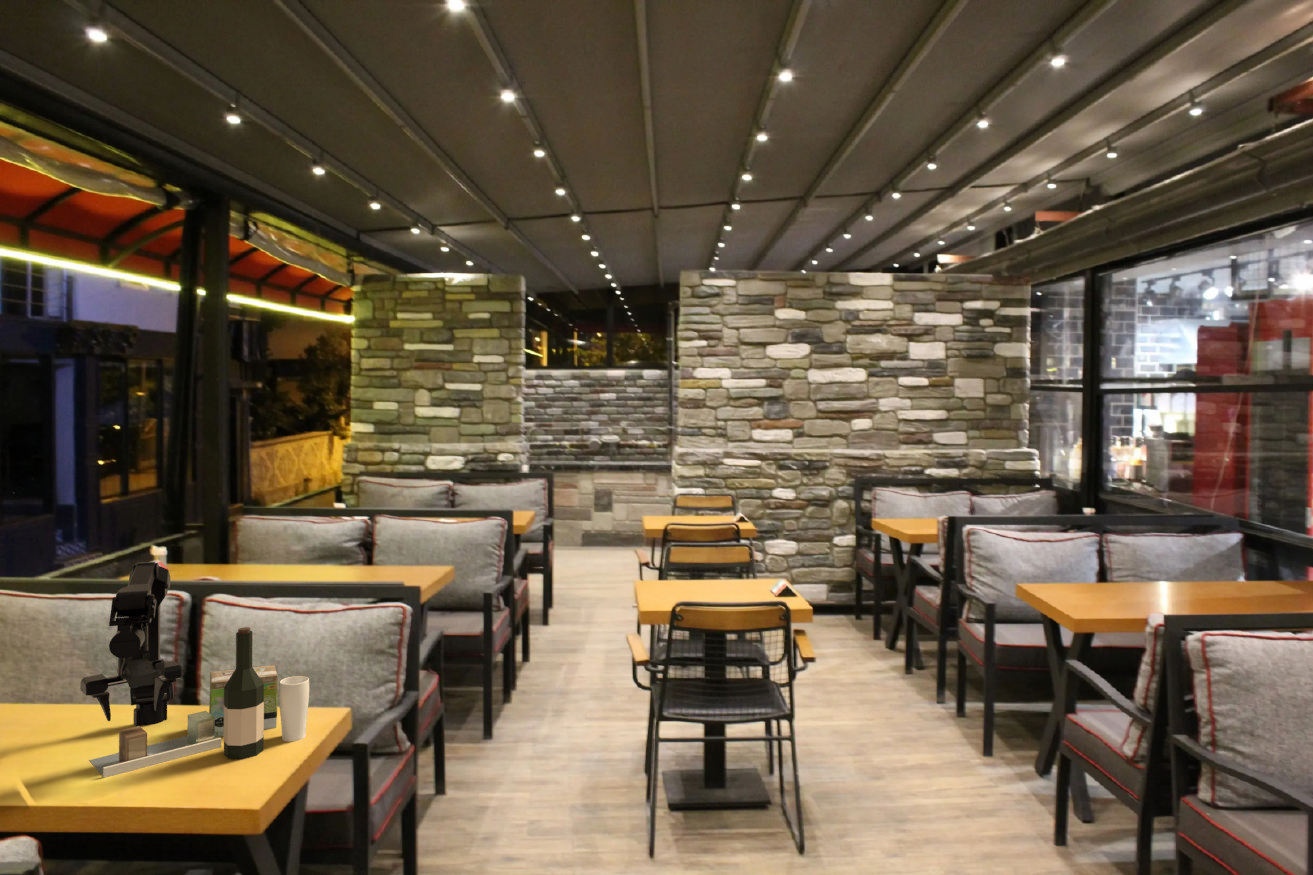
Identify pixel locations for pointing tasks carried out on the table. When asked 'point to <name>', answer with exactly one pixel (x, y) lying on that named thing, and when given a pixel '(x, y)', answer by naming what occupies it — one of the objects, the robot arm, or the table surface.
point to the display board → (153, 755)
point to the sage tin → (200, 727)
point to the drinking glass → (294, 707)
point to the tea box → (270, 696)
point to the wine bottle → (243, 704)
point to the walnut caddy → (132, 744)
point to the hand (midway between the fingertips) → (132, 715)
